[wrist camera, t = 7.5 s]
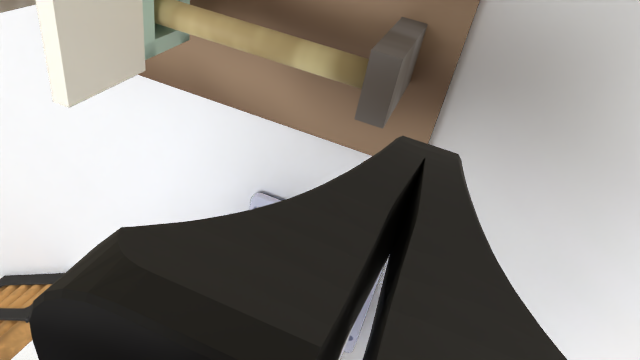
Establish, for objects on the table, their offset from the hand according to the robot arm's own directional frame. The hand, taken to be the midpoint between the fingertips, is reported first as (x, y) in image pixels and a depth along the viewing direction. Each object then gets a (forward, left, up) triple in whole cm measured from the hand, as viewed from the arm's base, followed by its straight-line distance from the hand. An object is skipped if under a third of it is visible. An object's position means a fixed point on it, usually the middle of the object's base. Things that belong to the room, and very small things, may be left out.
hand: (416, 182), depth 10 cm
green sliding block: (0, +12, -7) cm, 14 cm away
